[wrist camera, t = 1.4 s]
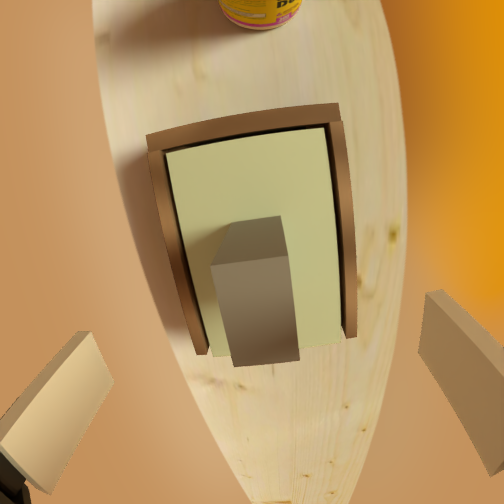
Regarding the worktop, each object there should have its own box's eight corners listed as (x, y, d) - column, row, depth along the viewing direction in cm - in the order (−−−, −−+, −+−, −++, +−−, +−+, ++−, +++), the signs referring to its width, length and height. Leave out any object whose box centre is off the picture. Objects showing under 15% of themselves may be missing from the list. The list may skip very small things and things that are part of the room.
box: (171, 138, 22) (143, 134, 17) (322, 114, 21) (339, 102, 16) (209, 317, 27) (196, 355, 22) (340, 300, 26) (356, 336, 20)
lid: (173, 153, 19) (106, 156, 10) (319, 129, 18) (360, 111, 9) (216, 345, 23) (194, 431, 15) (337, 331, 22) (364, 416, 14)
